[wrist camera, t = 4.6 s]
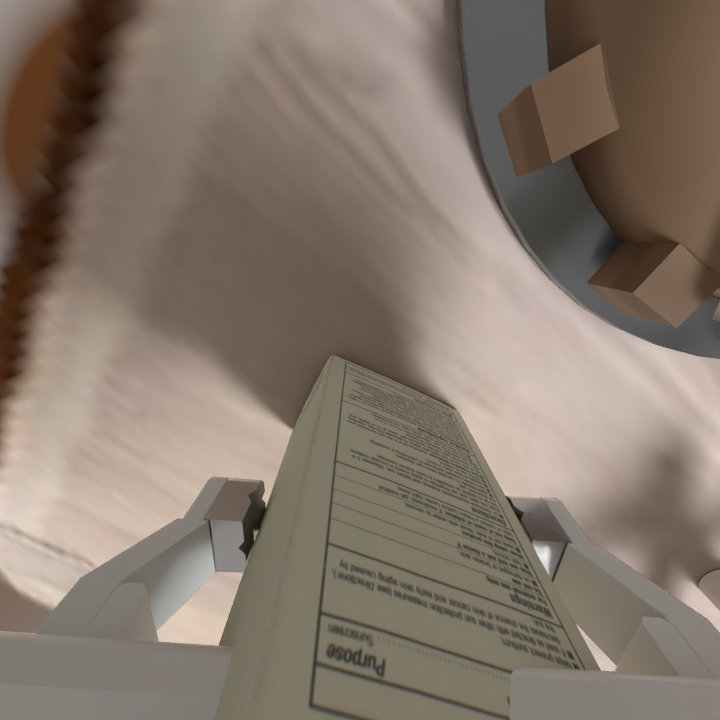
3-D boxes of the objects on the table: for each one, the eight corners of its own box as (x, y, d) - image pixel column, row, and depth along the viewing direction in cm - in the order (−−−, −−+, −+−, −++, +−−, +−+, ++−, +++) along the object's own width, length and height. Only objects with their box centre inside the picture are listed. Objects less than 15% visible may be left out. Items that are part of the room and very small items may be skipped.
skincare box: (290, 432, 15) (-2, 1157, 3) (331, 348, 13) (78, 1108, 2) (418, 487, 15) (558, 1210, 4) (470, 414, 14) (920, 1212, 3)
